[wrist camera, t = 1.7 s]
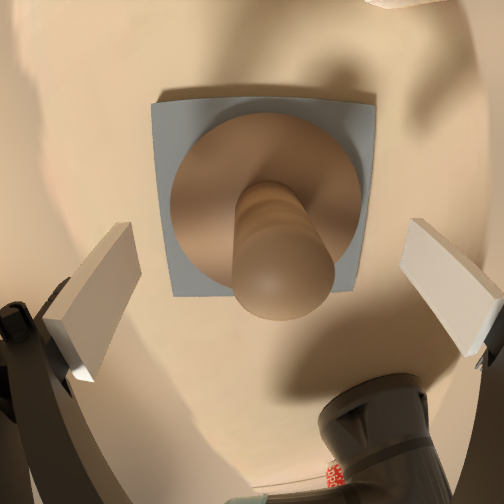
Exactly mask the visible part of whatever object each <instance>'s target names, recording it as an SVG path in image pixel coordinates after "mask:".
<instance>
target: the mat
mask: <svg viewBox="0 0 504 504" xmlns="http://www.w3.org/2000/svg"><path fill="white" fill-rule="evenodd" d="M253 113H279V114H286V115H290V116H294V117H298V118H300V119H303V120H306V121H308V122H310V123H312V124H314V125H316V126H318V127H319V128H321V129H322V130H324V131H325V132H326V133H328V134H329V135H330V136H332V137H333V138H334V139H335V140H336V141H337V142H338V143H339V144H340V146H341V147H342V148H343V150H344V151H345V152H346V154H347V155H348V157H349V158H350V160H351V162H352V164H353V166H354V168H355V171H356V174H357V177H358V180H359V185H360V190H361V213H360V218H359V223H358V226H357V229H356V232H355V235H354V237H353V239H352V241H351V243H350V245H349V247H348V248H347V250H346V251H345V253H344V254H343V256H342V257H341V258H340V259H339V260H338V262H337V263H336V264H335V265H334V267H335V280H334V284H333V287H332V289H331V291H330V292H347V291H353V289H354V284H355V279H356V274H357V269H358V263H359V258H360V252H361V246H362V240H363V234H364V228H365V221H366V214H367V207H368V199H369V191H370V182H371V172H372V162H373V150H374V135H375V117H376V106H375V105H368V104H361V103H353V102H345V101H336V100H325V99H312V98H296V97H218V98H202V99H189V100H178V101H169V102H160V103H153V104H151V117H152V134H153V148H154V160H155V171H156V181H157V190H158V199H159V207H160V215H161V222H162V230H163V237H164V243H165V250H166V256H167V262H168V268H169V274H170V280H171V286H172V291H173V296H174V297H207V296H235V295H234V292H233V289H231V288H229V287H226V286H223V285H221V284H219V283H217V282H216V281H214V280H212V279H211V278H209V277H208V276H206V275H205V274H203V273H202V272H201V271H200V270H199V269H198V268H197V267H195V266H194V264H193V263H192V262H191V261H190V260H189V259H188V258H187V256H186V255H185V253H184V252H183V250H182V249H181V247H180V245H179V243H178V241H177V239H176V236H175V233H174V230H173V227H172V222H171V216H170V196H171V189H172V185H173V181H174V178H175V175H176V173H177V170H178V168H179V166H180V164H181V162H182V160H183V159H184V157H185V155H186V154H187V153H188V152H189V150H190V149H191V148H192V147H193V145H194V144H195V143H196V142H197V141H198V140H199V139H201V138H202V137H203V136H204V135H205V134H207V133H208V132H209V131H211V130H212V129H214V128H215V127H216V126H218V125H220V124H222V123H224V122H226V121H228V120H231V119H233V118H236V117H239V116H243V115H248V114H253Z"/></svg>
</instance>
